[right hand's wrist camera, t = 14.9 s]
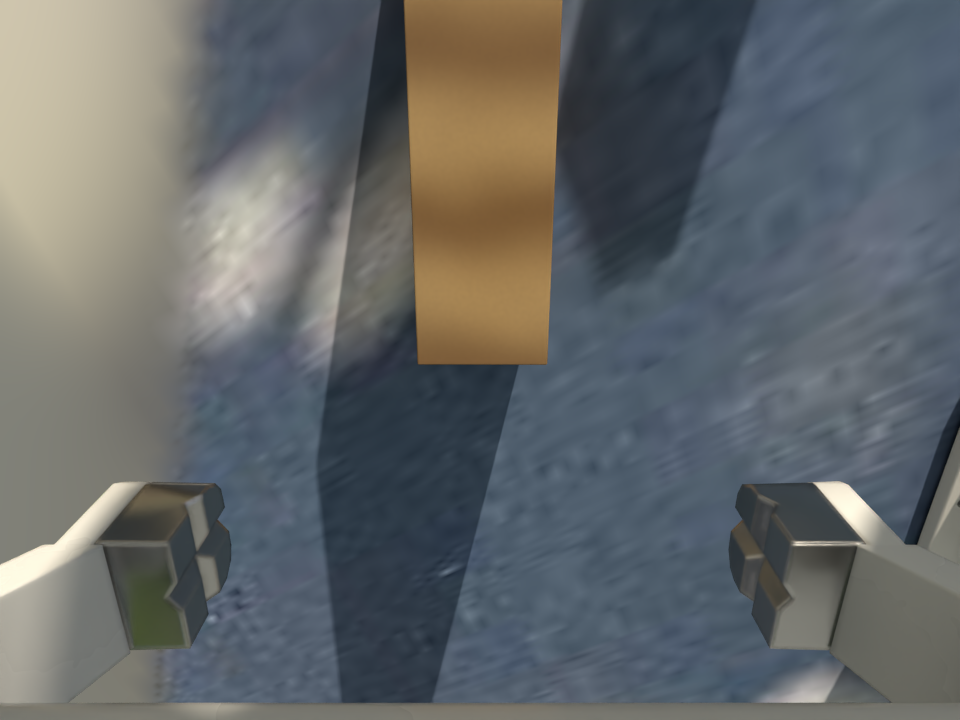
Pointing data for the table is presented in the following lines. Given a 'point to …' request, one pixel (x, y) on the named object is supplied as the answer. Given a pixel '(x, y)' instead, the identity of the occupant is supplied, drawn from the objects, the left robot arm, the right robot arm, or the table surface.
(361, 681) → the table surface
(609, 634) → the table surface
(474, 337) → the bar
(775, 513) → the right robot arm
